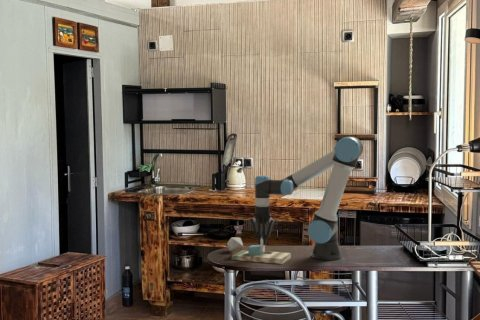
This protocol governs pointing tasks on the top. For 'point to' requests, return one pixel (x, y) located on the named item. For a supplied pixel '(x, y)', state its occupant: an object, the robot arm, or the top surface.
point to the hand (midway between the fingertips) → (262, 251)
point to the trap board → (259, 256)
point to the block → (254, 250)
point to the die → (234, 243)
